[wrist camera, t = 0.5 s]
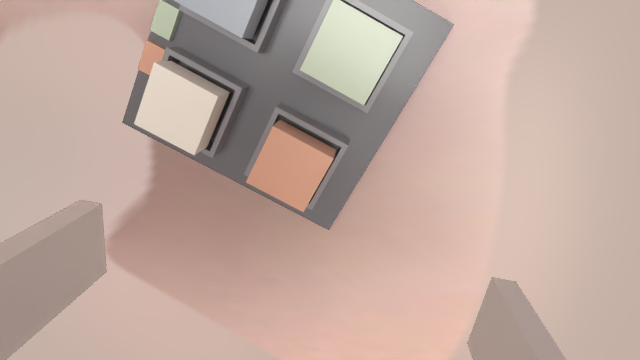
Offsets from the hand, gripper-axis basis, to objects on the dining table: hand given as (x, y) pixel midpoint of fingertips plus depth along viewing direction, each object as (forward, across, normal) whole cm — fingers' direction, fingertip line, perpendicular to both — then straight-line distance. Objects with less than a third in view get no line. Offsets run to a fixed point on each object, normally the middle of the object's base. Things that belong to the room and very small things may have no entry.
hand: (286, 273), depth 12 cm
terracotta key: (+17, -3, -2) cm, 17 cm away
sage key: (+17, 0, +7) cm, 18 cm away
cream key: (+17, -11, +1) cm, 20 cm away
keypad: (+20, -5, +4) cm, 21 cm away
